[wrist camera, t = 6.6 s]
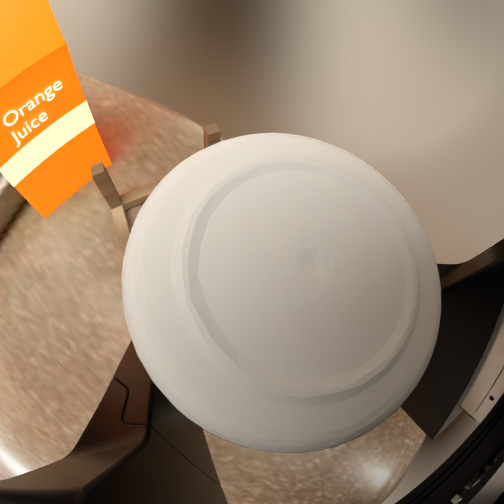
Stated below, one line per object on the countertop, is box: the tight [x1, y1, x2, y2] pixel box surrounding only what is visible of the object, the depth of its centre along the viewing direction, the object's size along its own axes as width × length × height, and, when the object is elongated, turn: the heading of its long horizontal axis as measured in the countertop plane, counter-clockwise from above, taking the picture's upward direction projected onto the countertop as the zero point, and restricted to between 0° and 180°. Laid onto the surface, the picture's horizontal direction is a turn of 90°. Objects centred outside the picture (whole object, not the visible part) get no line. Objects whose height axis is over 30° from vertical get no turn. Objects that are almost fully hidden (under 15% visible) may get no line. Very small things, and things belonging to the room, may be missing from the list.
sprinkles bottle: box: [122, 133, 441, 453], centre depth 9 cm, size 5×5×14 cm
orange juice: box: [0, 0, 112, 218], centre depth 15 cm, size 8×9×20 cm
